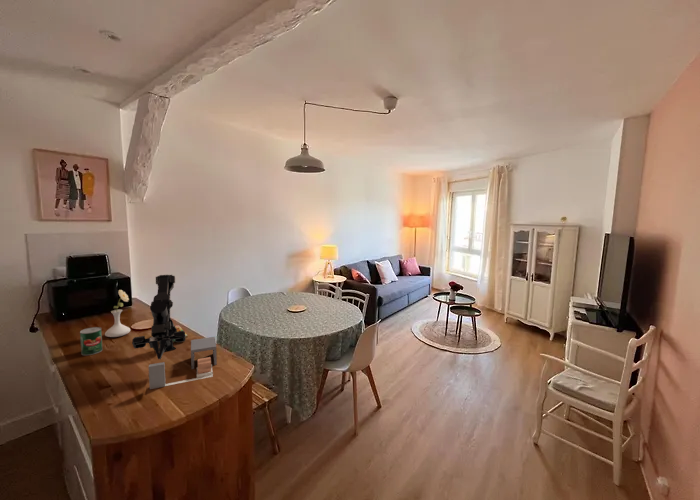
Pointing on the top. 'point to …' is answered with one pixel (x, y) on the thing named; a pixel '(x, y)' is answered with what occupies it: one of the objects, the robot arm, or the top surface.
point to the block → (204, 365)
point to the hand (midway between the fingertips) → (159, 359)
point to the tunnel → (203, 348)
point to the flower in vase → (118, 319)
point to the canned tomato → (91, 341)
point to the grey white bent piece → (159, 376)
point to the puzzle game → (180, 330)
